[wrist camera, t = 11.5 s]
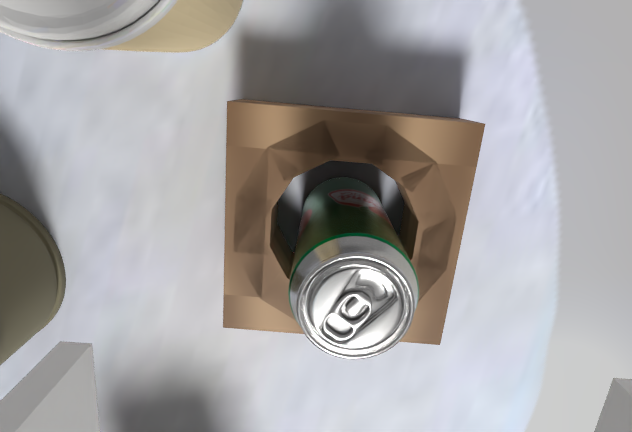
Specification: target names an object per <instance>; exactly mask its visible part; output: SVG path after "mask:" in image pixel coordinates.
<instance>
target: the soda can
mask: <svg viewBox="0 0 632 432" xmlns="http://www.w3.org/2000/svg"><path fill="white" fill-rule="evenodd" d="M288 295H289V304H290V307H291V311H292V313H293V315H294V318H295V320H296V321H297V322H298V324H299V325H300V327H301V328H302V330H303V332H304V333H305V335H306V336H307V338H308V339H309V340H310V341H311V342H312V343H313V344H314V345H315V346H317V347H318V348H319V349H321V350H323V351H324V352H326V353H328V354H331V355H333V356H336V357H341V358H346V359H363V358H369V357H373V356H376V355H379V354H381V353H383V352H385V351H387V350H389V349H390V348H392V347H393V346H395V345H396V344H397V343H398V342H399V341H400V340H401V339H402V338H403V337H404V335H405V334H406V333H407V331H408V329H409V328H410V326H411V323H412V320H413V317H414V313H415V310H416V307H417V304H418V299H419V284H418V278H417V275H416V272H415V269H414V267H413V265H412V263H411V261H410V259H409V257H408V255H407V253H406V251H405V249H404V247H403V245H402V243H401V241H400V239H399V237H398V235H397V234H396V232H395V230H394V228H393V226H392V224H391V222H390V220H389V218H388V216H387V214H386V212H385V210H384V208H383V206H382V204H381V202H380V200H379V198H378V197H377V195H376V193H375V192H374V191H373V190H372V189H371V188H370V187H369V186H368V185H366V184H365V183H363V182H361V181H359V180H357V179H353V178H347V177H338V178H333V179H329V180H327V181H324V182H323V183H321V184H319V185H318V186H317V187H315V188H314V189H313V190H312V192H311V193H310V194H309V196H308V197H307V199H306V201H305V203H304V207H303V211H302V216H301V222H300V227H299V232H298V238H297V243H296V249H295V254H294V259H293V265H292V270H291V276H290V281H289V290H288Z"/></svg>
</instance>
